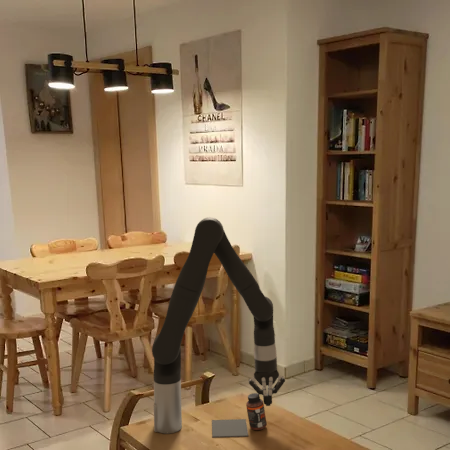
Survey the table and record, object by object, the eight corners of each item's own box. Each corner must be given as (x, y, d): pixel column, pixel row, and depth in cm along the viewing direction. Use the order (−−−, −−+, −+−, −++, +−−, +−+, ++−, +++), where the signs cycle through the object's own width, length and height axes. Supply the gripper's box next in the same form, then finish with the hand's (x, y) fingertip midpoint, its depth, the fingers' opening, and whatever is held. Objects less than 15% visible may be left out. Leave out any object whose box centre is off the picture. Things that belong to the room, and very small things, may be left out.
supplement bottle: (265, 430, 189) (260, 398, 188) (248, 431, 190) (243, 400, 189) (268, 421, 195) (263, 391, 194) (251, 422, 196) (246, 392, 195)
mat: (212, 437, 186) (212, 436, 186) (211, 421, 198) (211, 420, 198) (248, 436, 187) (248, 435, 187) (245, 420, 198) (245, 419, 198)
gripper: (246, 361, 186) (249, 411, 188) (286, 358, 186) (288, 408, 188) (245, 353, 193) (247, 401, 195) (283, 351, 194) (285, 399, 196)
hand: (268, 404), depth 192 cm, fingers closed
